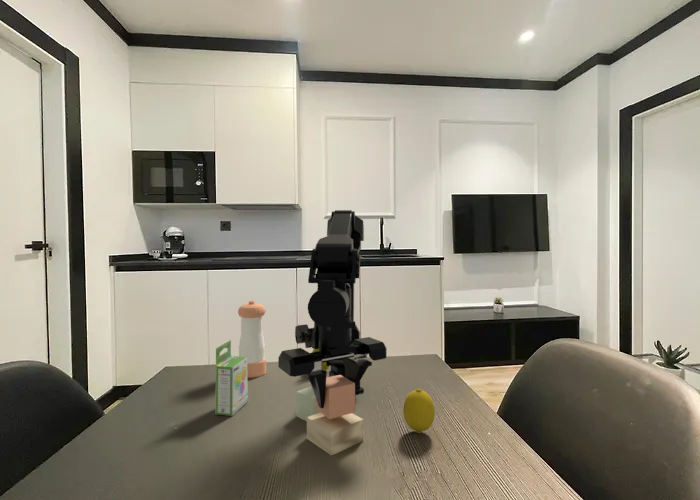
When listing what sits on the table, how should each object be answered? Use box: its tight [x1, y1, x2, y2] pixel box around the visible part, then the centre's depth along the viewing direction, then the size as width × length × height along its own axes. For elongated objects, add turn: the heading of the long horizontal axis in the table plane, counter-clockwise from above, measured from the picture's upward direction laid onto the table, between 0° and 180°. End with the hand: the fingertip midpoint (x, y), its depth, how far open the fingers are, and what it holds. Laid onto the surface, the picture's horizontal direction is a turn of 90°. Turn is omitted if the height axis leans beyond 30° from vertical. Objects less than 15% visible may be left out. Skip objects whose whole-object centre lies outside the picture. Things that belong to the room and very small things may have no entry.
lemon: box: [402, 388, 436, 434], centre depth 67 cm, size 6×6×8 cm
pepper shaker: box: [237, 300, 267, 379], centre depth 99 cm, size 7×7×19 cm
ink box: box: [214, 339, 249, 417], centre depth 78 cm, size 7×4×13 cm, turn 172°
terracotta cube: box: [316, 375, 356, 419], centre depth 65 cm, size 5×5×5 cm
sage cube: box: [296, 385, 320, 422], centre depth 74 cm, size 5×5×5 cm
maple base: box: [306, 412, 364, 456], centre depth 65 cm, size 7×7×4 cm
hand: (334, 403), depth 65 cm, fingers closed on terracotta cube, 5 cm apart
